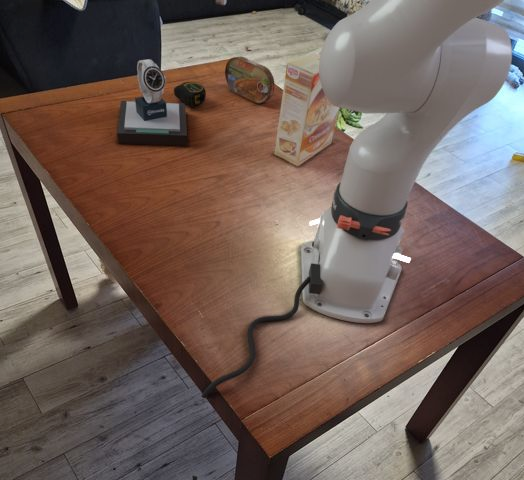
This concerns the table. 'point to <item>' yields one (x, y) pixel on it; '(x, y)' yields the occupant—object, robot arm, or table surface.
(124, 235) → the table surface
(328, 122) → the coffeecake box
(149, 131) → the scale
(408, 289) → the table surface
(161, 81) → the watch
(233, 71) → the tin
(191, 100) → the tape measure
